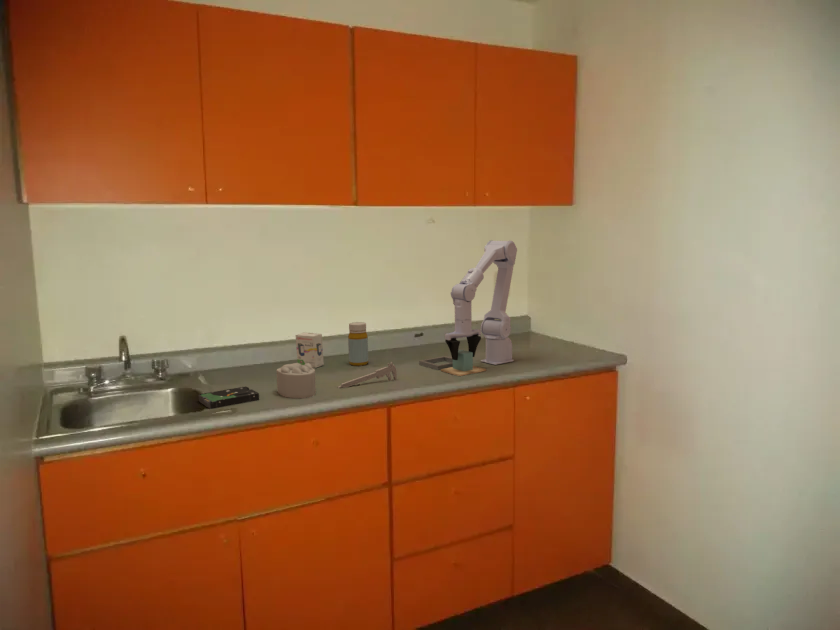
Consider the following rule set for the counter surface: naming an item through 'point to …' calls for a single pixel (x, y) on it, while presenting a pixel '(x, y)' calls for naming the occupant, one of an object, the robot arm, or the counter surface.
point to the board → (461, 373)
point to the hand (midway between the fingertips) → (463, 358)
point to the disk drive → (228, 397)
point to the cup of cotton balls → (296, 380)
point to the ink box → (309, 349)
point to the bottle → (358, 344)
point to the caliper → (373, 376)
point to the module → (464, 361)
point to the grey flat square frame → (439, 359)
